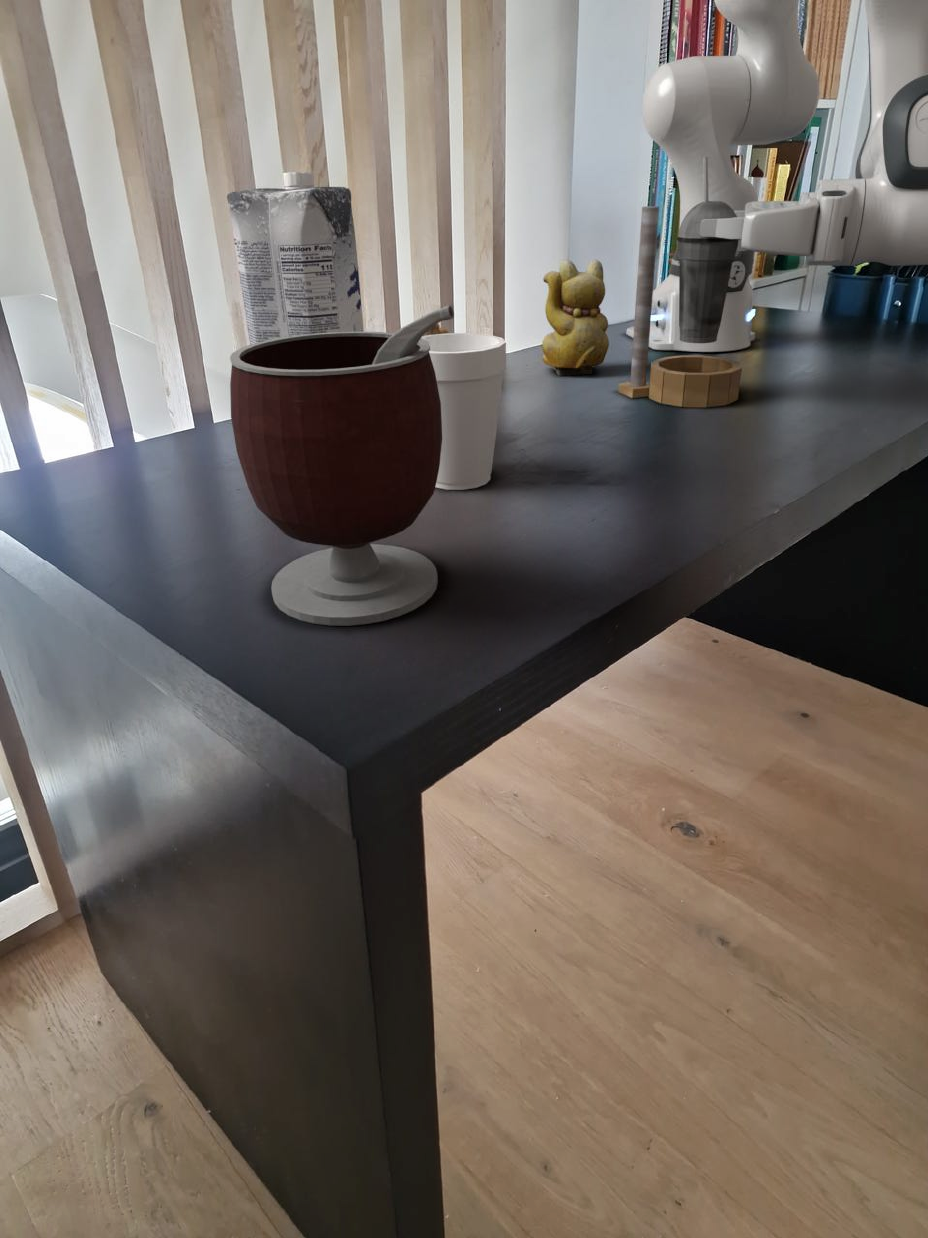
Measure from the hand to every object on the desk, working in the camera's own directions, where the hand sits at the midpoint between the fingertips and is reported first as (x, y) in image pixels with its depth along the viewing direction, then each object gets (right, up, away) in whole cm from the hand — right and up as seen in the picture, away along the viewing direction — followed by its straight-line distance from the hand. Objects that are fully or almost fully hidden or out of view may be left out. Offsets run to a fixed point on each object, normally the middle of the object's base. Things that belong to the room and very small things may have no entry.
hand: (701, 224), depth 97 cm
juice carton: (-44, -28, -7) cm, 52 cm away
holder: (+1, -18, +9) cm, 20 cm away
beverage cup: (+1, -12, +6) cm, 13 cm away
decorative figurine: (-12, -11, +23) cm, 28 cm away
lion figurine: (-32, -13, +21) cm, 40 cm away
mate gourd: (-35, -44, -35) cm, 67 cm away
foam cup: (-29, -33, -15) cm, 46 cm away
